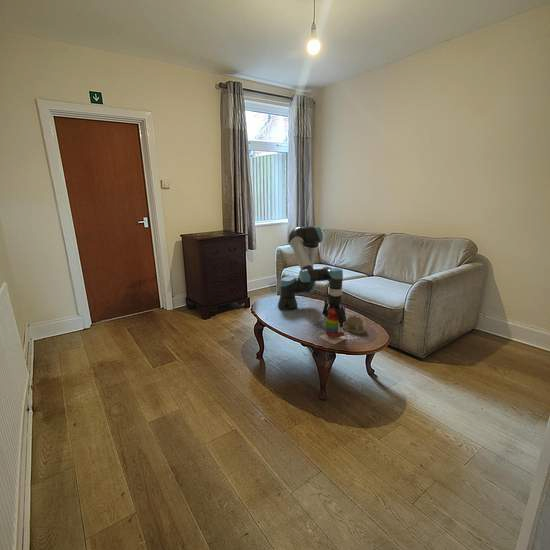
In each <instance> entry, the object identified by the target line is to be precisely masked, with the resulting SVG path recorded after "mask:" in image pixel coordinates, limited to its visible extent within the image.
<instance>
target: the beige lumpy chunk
mask: <svg viewBox="0 0 550 550" xmlns="http://www.w3.org/2000/svg"><path fill="white" fill-rule="evenodd" d="M363 325H364V320H363V319H362V318H361V317H360V316H357V315H355V314H354V315H349V316H346V322H344V323H343V327H342V330H344V331H346V332H351V333H354V334H357V335H358V334H364V333H365V329H364V326H363Z"/></svg>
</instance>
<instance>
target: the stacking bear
mask: <svg viewBox="0 0 550 550" xmlns="http://www.w3.org/2000/svg"><path fill="white" fill-rule="evenodd" d="M327 310H328V309H327ZM337 310H338V309H337ZM328 314H329V315H328V317H327V319H326V330H327V331H326V330H325V334H326V335H327V336H329V337H341V336H344V337H345V332H343V330H342V331H341V332H338V322H340V321H339V318H338V316H337V312H336V311H335V309H334V308H332V307H331V308H329V310H328Z"/></svg>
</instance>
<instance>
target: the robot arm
mask: <svg viewBox="0 0 550 550" xmlns="http://www.w3.org/2000/svg"><path fill="white" fill-rule="evenodd" d="M323 235H324V234H323V232H322V229H321V227H319V226H317V225H312V226H297V227H294V228H293V229H292V230H291V231H290V233H289V235H288V244H289V246H290V248H292V250H293V253H294V256H295V258H296V261H297V263H298V265H299V268H300V270H299V273H298V277H295V276H293V275H291V276H290V275H289V276H284V277H282V278H281V279H280V281H279V300H278V302H277V308H278V309H279V310H282V311H293V310H296V309H297V308H298V302H297V299H296V294H309V293H312V292H314V291H315V289H316V285H317V284H316V282H325V281H326V282H329V283H328V285H329V286H328V299H326V300H324V306H323V309H322V313H321V314H322V315H323V316H324V319H325V327H326V319H327V317H328V315H329V314H328V310H329V308H331V307H332V308H334V309H335V311H336V312H337V316H338V318H339V321H340V322H338V332H341V331H342V332H343V324H344V322H346V320H347V316H346V305H342V304H341V302H342V294H343V291H342V290H343V278H344V275H343V274H344V273H343V272H344V271H343V269H342V268H339V267H333V268H332V267H329V266H324V267H322V268H314V266H315V265H314V263H315V256H316V250H317V248H318V247H319V244H321V243H323V238H324V237H323ZM337 309H338V310H337Z"/></svg>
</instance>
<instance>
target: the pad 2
mask: <svg viewBox="0 0 550 550" xmlns="http://www.w3.org/2000/svg"><path fill="white" fill-rule="evenodd" d="M318 338H319V339H321V340H324V341H326V342H328V343H330V344H332V345H336V344H338V343H340V342H342V341H344V340H346V339H347V338H348V337H346V336H345V335H344V336H341V337H329V336H327V335H326V333H324V334H322V335H319V337H318Z"/></svg>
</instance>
